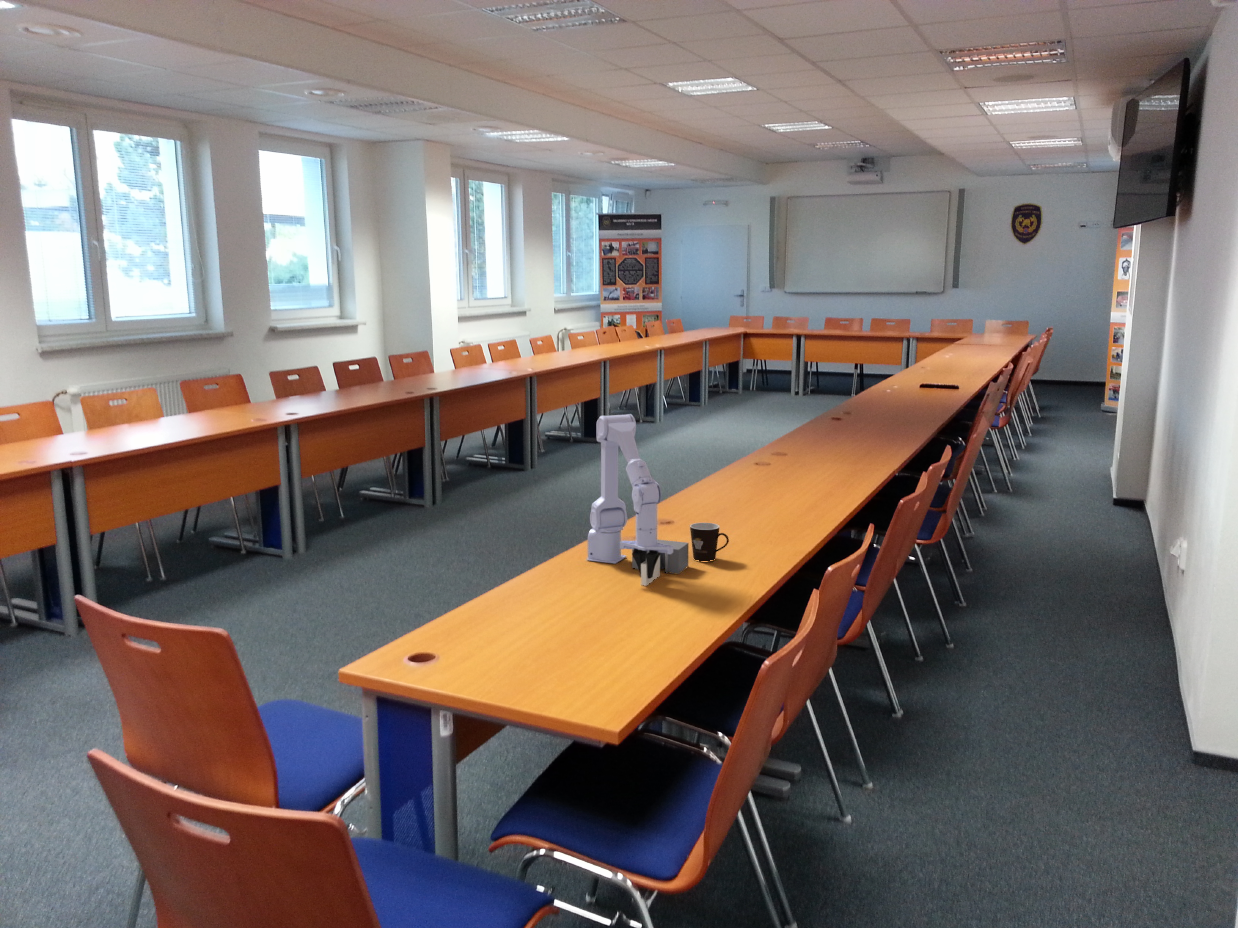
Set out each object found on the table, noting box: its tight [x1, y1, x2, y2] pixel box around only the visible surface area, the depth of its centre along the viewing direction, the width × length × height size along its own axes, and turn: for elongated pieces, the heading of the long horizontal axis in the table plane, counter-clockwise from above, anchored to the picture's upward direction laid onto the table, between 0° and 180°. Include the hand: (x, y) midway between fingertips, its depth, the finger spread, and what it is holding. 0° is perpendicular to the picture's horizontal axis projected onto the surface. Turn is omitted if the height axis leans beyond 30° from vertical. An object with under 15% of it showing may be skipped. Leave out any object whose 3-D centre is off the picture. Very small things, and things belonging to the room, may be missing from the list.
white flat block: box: [640, 556, 661, 587], centre depth 252 cm, size 2×10×6 cm, turn 156°
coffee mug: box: [689, 522, 730, 561], centre depth 270 cm, size 12×9×10 cm
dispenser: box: [631, 539, 690, 575], centre depth 263 cm, size 14×9×7 cm, turn 66°
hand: (646, 576), depth 249 cm, fingers closed on white flat block, 1 cm apart
